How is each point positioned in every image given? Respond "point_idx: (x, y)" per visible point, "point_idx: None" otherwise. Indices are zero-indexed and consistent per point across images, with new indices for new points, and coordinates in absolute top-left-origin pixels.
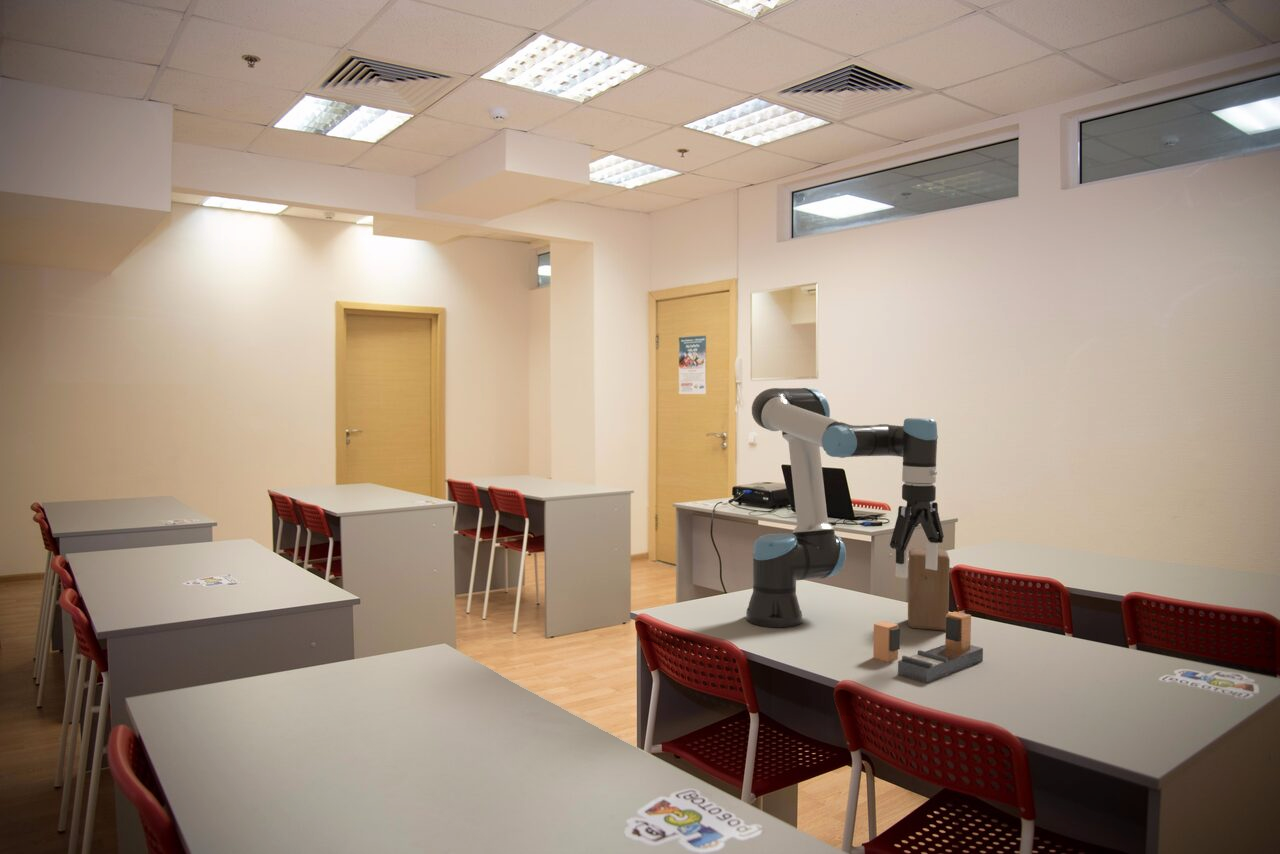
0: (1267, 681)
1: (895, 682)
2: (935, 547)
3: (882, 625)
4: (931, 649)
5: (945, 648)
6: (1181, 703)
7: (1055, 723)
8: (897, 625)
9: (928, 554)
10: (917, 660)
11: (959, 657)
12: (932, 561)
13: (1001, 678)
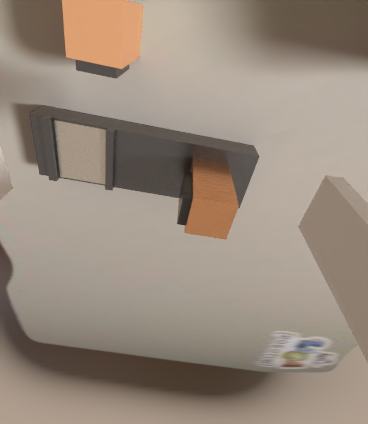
0: (318, 371)
1: (3, 119)
2: (362, 343)
3: (71, 25)
4: (163, 138)
5: (190, 158)
6: (209, 343)
7: (65, 293)
8: (116, 67)
9: (360, 251)
10: (46, 154)
11: (155, 193)
12: (325, 242)
13: (165, 233)
